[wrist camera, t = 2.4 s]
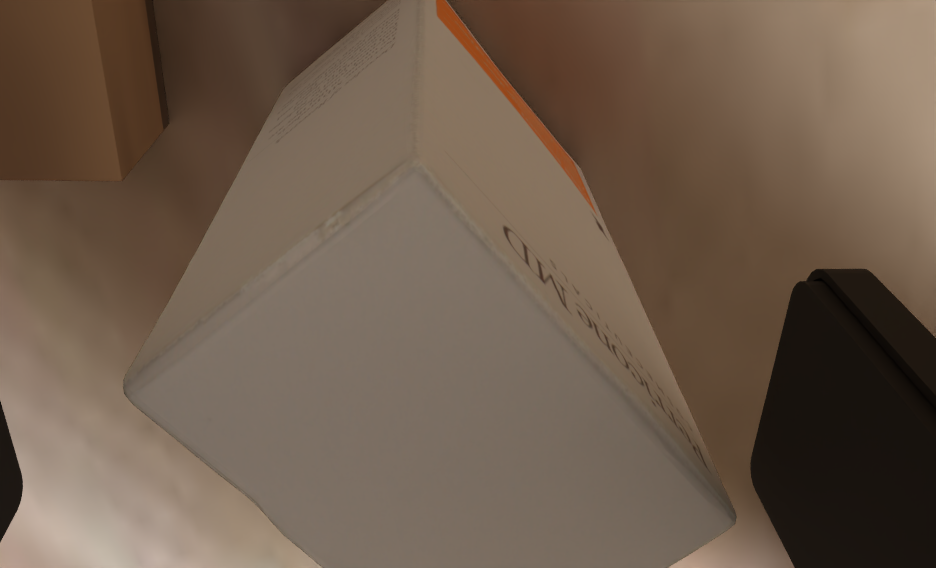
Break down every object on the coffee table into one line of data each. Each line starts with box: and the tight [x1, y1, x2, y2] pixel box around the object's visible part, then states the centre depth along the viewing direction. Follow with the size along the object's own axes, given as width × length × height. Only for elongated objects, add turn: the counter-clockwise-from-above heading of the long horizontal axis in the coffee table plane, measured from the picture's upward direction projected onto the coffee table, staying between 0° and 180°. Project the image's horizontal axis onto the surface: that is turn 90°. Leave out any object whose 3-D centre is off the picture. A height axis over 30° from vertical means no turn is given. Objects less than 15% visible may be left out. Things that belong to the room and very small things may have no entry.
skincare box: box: [123, 0, 736, 568], centre depth 15 cm, size 6×4×12 cm
